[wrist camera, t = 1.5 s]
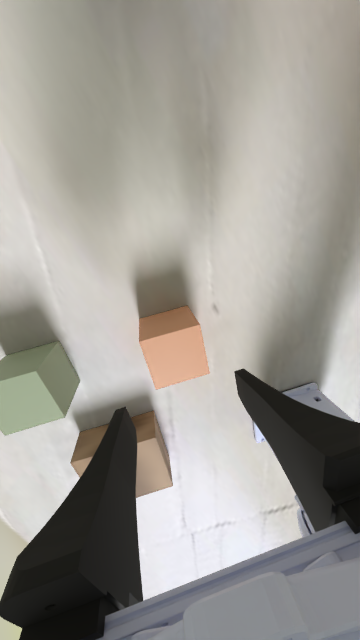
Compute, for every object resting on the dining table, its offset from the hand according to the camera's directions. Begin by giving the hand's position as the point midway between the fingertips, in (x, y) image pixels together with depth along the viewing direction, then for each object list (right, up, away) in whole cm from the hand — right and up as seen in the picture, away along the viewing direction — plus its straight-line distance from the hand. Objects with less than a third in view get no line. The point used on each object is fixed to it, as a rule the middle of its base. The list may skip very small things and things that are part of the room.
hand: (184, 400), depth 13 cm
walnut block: (-7, -11, +14) cm, 19 cm away
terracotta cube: (-1, +4, +9) cm, 10 cm away
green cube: (-14, 0, +8) cm, 16 cm away
